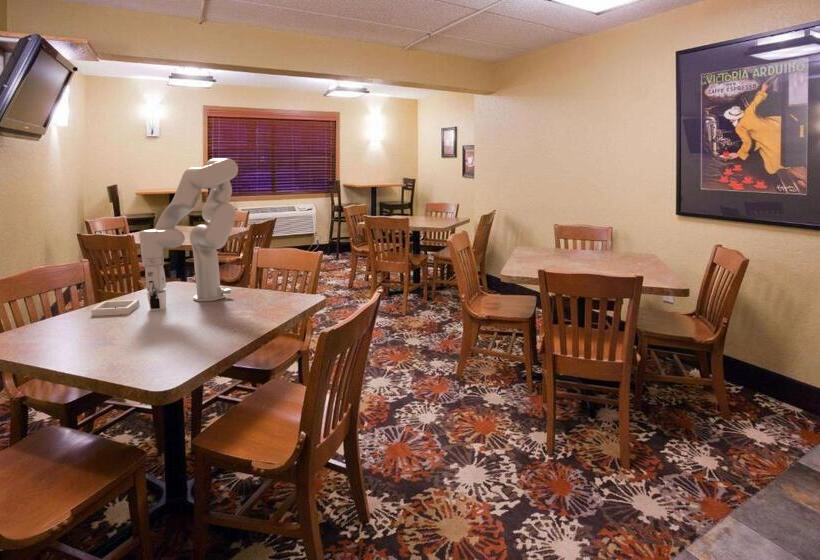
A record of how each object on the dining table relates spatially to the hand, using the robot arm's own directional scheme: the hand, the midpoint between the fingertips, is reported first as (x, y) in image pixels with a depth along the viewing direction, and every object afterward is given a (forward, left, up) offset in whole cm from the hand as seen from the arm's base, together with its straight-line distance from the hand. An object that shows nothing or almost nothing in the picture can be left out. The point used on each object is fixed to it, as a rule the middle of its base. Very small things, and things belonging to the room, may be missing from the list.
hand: (157, 305), depth 196 cm
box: (+15, 0, -1) cm, 15 cm away
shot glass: (0, 0, -1) cm, 1 cm away
